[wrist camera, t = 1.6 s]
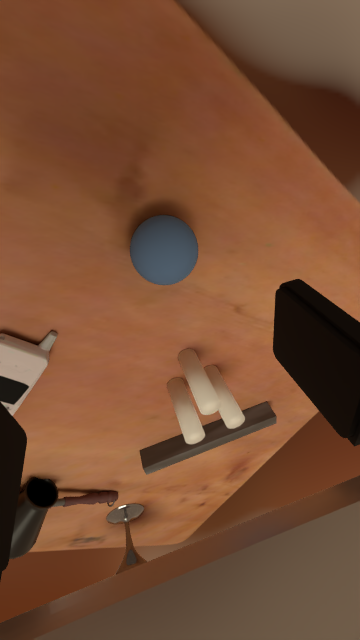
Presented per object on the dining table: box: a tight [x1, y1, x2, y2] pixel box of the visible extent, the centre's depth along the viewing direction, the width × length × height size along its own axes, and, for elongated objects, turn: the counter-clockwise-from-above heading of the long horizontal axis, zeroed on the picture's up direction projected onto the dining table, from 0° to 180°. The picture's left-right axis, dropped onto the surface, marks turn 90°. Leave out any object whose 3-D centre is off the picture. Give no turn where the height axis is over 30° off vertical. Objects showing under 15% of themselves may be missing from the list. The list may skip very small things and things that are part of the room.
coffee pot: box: [9, 477, 118, 559], centre depth 46 cm, size 8×18×8 cm
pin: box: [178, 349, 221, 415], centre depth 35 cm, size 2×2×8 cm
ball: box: [130, 215, 198, 285], centre depth 26 cm, size 6×6×6 cm
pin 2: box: [204, 365, 245, 429], centre depth 38 cm, size 2×2×8 cm
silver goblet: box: [106, 504, 147, 575], centre depth 51 cm, size 8×8×15 cm
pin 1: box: [167, 378, 205, 444], centre depth 37 cm, size 2×2×8 cm
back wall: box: [140, 402, 276, 475], centre depth 47 cm, size 2×22×3 cm, turn 102°
